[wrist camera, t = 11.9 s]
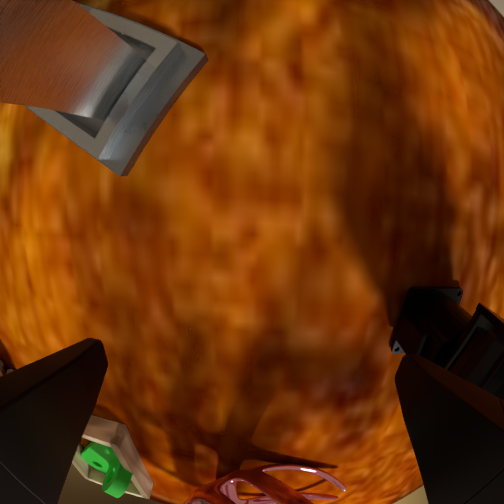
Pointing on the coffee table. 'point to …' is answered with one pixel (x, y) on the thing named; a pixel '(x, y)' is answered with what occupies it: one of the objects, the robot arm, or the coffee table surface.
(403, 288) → the coffee table surface
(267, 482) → the spiral basket
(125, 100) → the housing
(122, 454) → the parts corral
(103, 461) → the mechanical part
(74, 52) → the post
